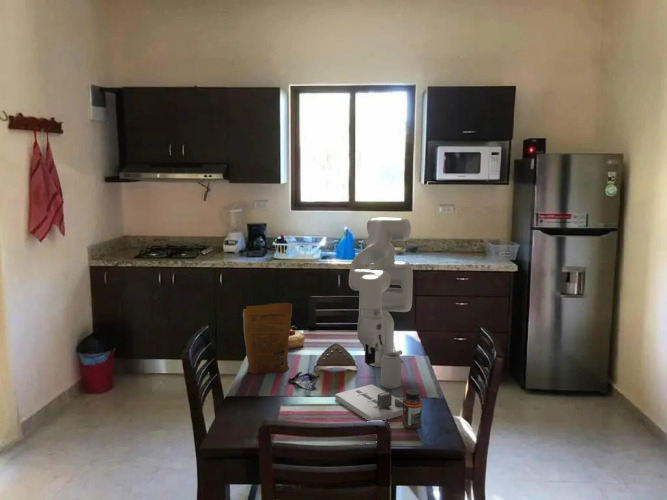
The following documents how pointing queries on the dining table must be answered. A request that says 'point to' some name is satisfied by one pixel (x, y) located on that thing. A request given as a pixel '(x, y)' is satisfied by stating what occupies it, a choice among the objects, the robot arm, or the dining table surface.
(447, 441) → the dining table surface
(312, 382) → the snack package
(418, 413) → the supplement bottle
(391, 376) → the can
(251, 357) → the pancake mix bag
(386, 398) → the fader knob
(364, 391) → the console board
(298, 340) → the pastry
